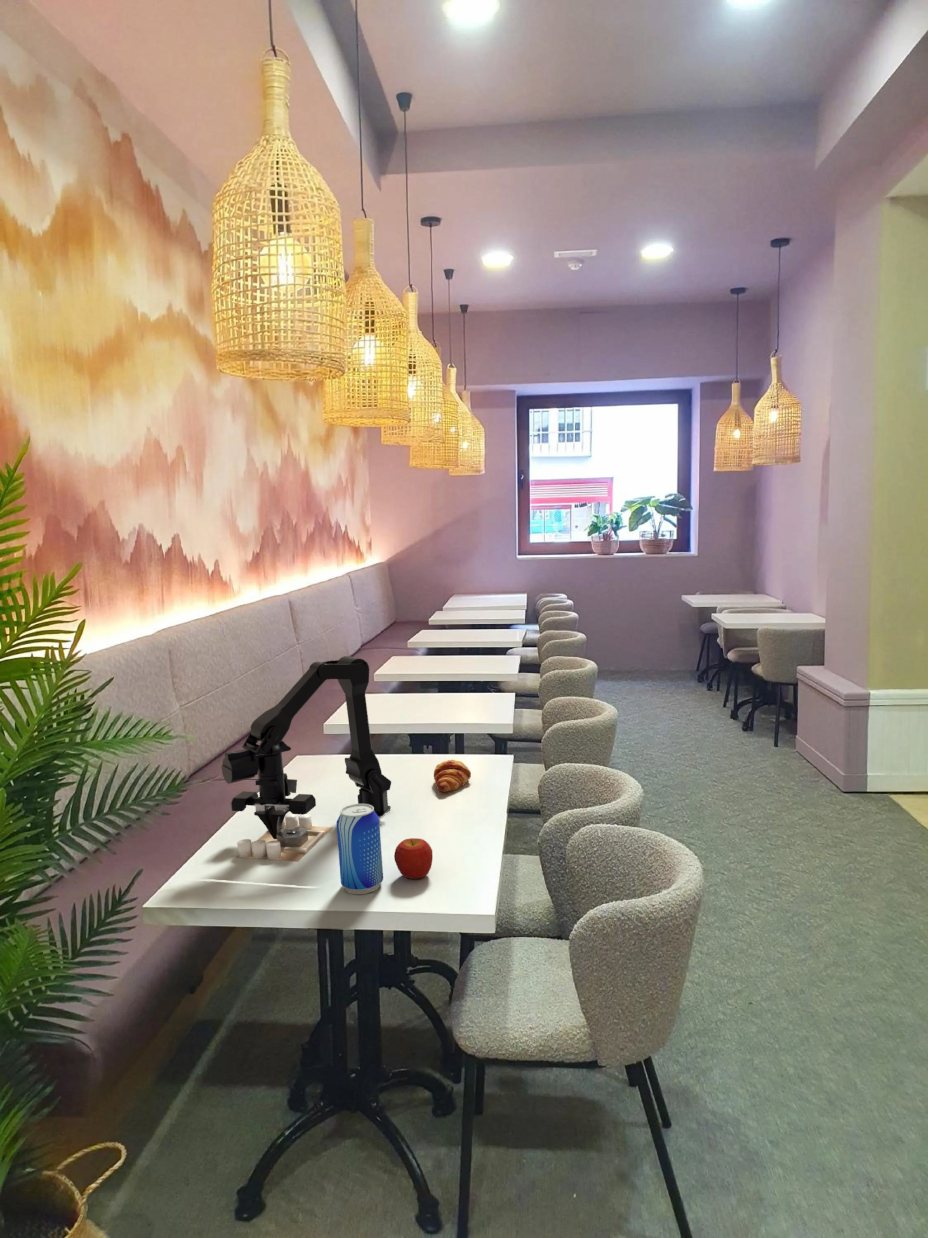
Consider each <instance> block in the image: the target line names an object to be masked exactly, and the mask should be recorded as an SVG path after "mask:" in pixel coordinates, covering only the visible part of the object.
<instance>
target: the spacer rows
mask: <svg viewBox="0 0 928 1238" xmlns="http://www.w3.org/2000/svg"><path fill="white" fill-rule="evenodd" d="M312 821H313V820H312V814H310V813H307V814H303V815H302V814H292V813H287V814H286V815H285V818H284V820H283V823H282V827H281V829H283V828H284V827H285V825H286V828H292V827H301V828H304V829H306V830H310V829H312V826H313V822H312ZM256 840H257V841H256ZM256 840H253V841H252V839H249V838H245V839H241V840H238V841H237V842H236V844H237V854H238V855H237V856H239V857H241V858H240V859H246V858H245V857H249V856H251V855H252V854H253V858H256V859H255V860H260V859H259V858H263V857H265V856H266V855H267V858H268V859H271V860H272V859H278V858H280V857H281V847H280V842H279V841H270V842H268V843H267V844H266V841H265V840H258V839H256ZM266 849H267V852H266ZM268 859H267V860H268ZM271 860H270V861H271ZM272 861H273V860H272Z"/></svg>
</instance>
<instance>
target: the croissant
mask: <svg viewBox="0 0 928 1238" xmlns="http://www.w3.org/2000/svg"><path fill="white" fill-rule="evenodd" d="M471 776H472V772H471V770H470V769H469V766H467V765H466V764H464V763H463V761H460V760H455V759H448V760H445V761H442V762H440V763H438V764H437V765H436V767H435V768H434V771H433V780H434V783H435V786H436V788H437V790H439V791H440V792H442V793H445V792H452V791H457V790H458V789H459V788H461V787H463V786H464V785H465V784H466V783H467V782H468V781H469V780H470V779H471Z"/></svg>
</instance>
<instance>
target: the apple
mask: <svg viewBox="0 0 928 1238" xmlns="http://www.w3.org/2000/svg"><path fill="white" fill-rule="evenodd" d="M393 856H394V858H393V859H394V863H395V865H396V867H397V869H398V871H399V873H400V874H401V876H402V877H405V878H407V879H412V880H416V879H417V880H418V879H422V878H424V877H425V876H426V877H427V875H428V874H429V873H430V870H431V869H432V864H433V857H434V856H433V848H432V847H431V845H430V843H428V842H427V841H426V840H425V839H423V838H415V837H414V838H405V839H404V840H402V841H400V842H399V843H398V844H397V846H396V847H395V851H394V855H393Z"/></svg>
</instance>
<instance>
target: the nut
mask: <svg viewBox="0 0 928 1238" xmlns="http://www.w3.org/2000/svg"><path fill="white" fill-rule="evenodd" d="M277 841H279V842H280V846H281V847H284V848H285V847H299V846H302V845H303V844H304V843H306V842H307V841H308V830H306V829H304V828H301V827H292V828H285V829H283V830H281V831H280V832H279V833H278V834H277Z"/></svg>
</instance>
